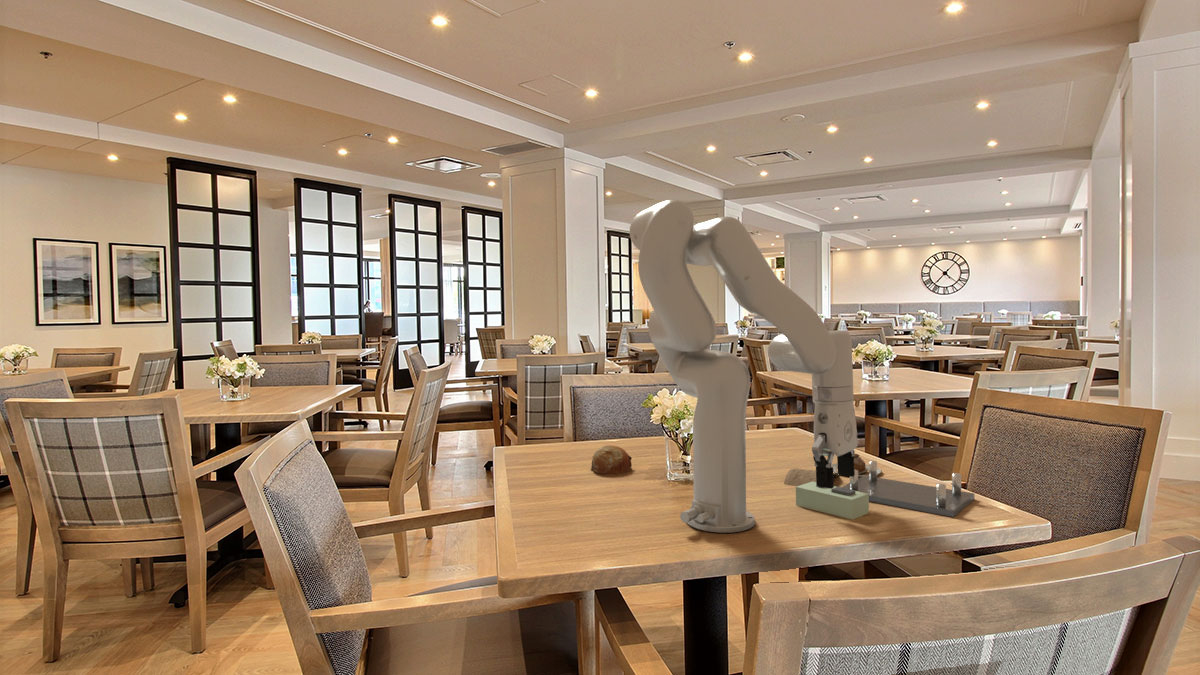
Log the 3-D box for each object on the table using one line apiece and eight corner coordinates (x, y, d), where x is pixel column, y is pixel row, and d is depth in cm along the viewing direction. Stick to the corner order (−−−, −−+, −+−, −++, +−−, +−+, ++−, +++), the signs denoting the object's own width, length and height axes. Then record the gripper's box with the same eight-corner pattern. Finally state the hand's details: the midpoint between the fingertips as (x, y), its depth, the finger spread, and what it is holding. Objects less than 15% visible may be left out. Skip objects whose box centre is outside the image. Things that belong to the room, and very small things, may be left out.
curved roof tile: (828, 494, 135) (828, 481, 135) (780, 488, 140) (780, 475, 140) (841, 478, 147) (841, 467, 147) (797, 473, 152) (797, 462, 152)
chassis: (953, 517, 117) (953, 489, 117) (836, 495, 132) (836, 470, 132) (974, 499, 128) (974, 473, 127) (864, 480, 143) (864, 457, 143)
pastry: (852, 465, 159) (852, 447, 159) (892, 476, 148) (893, 456, 148) (816, 471, 154) (816, 452, 154) (855, 482, 143) (855, 462, 143)
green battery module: (852, 521, 116) (852, 495, 116) (795, 506, 126) (795, 482, 126) (868, 514, 120) (868, 489, 120) (812, 500, 130) (812, 477, 129)
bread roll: (593, 480, 161) (580, 453, 159) (627, 460, 163) (614, 433, 162) (605, 490, 151) (591, 462, 150) (641, 469, 154) (627, 440, 152)
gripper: (832, 402, 113) (836, 495, 114) (869, 389, 126) (872, 473, 127) (793, 399, 119) (797, 489, 119) (832, 387, 131) (835, 468, 132)
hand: (836, 481), depth 123 cm, fingers open, 9 cm apart
